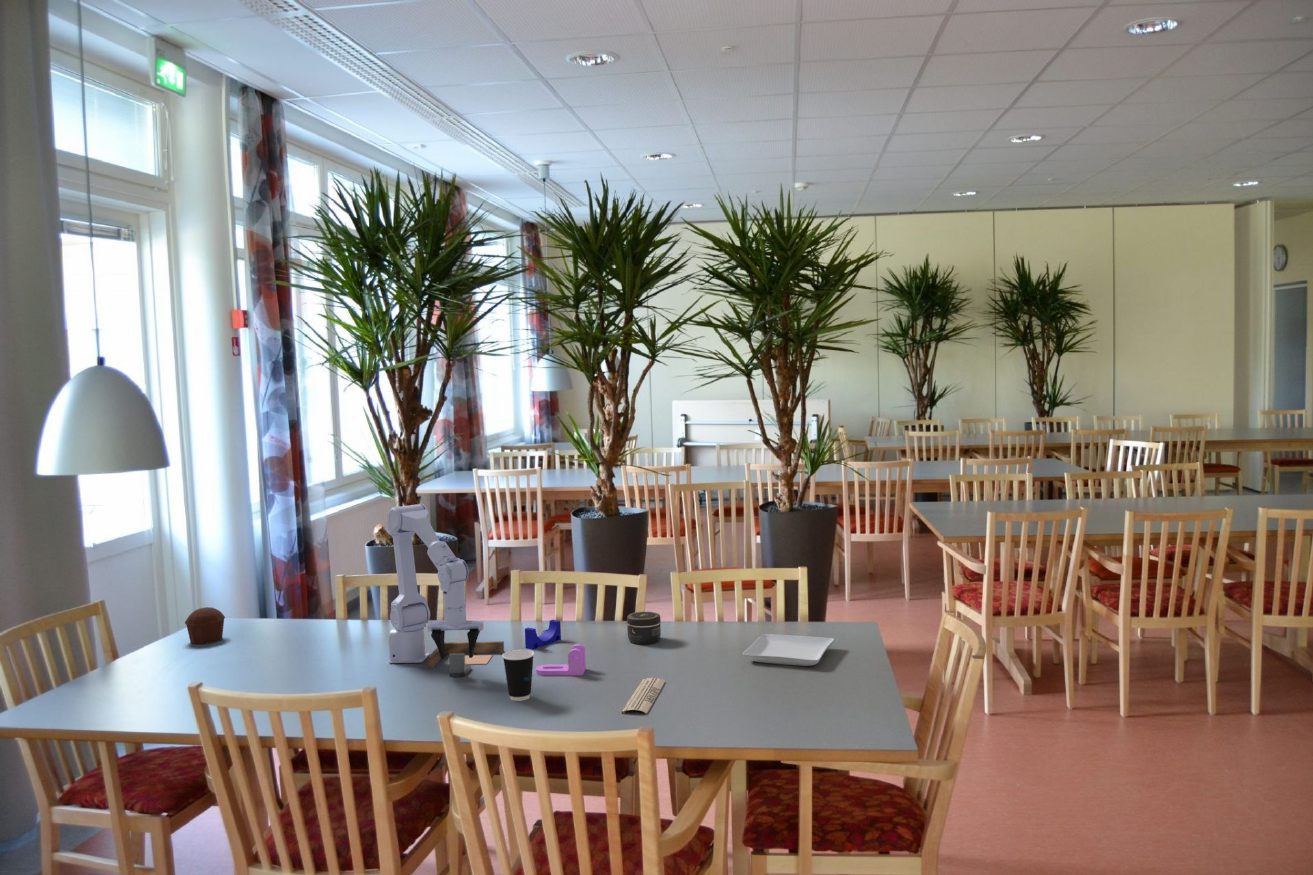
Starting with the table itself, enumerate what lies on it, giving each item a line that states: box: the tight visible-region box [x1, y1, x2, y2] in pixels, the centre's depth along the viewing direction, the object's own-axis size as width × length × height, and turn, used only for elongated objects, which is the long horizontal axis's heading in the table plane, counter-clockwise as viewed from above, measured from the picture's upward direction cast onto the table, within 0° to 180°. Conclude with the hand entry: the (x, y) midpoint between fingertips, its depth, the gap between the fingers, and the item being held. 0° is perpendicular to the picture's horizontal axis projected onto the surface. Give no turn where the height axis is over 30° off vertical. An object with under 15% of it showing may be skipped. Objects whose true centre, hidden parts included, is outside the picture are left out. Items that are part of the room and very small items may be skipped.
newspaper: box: [621, 677, 666, 715], centre depth 238 cm, size 24×7×2 cm, turn 169°
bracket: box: [535, 643, 587, 677], centre depth 260 cm, size 13×6×7 cm, turn 85°
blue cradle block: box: [524, 619, 562, 651], centre depth 288 cm, size 12×4×6 cm, turn 143°
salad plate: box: [742, 633, 835, 667], centre depth 268 cm, size 21×21×3 cm
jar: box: [626, 611, 662, 646], centre depth 288 cm, size 10×10×8 cm
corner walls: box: [427, 640, 505, 669], centre depth 274 cm, size 18×15×3 cm
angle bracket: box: [448, 653, 472, 678], centre depth 262 cm, size 7×4×6 cm, turn 178°
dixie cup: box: [501, 649, 535, 702], centre depth 240 cm, size 8×8×11 cm
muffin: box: [184, 607, 226, 645], centre depth 303 cm, size 12×11×10 cm
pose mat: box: [446, 654, 493, 666], centre depth 274 cm, size 11×8×1 cm
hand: (457, 657), depth 259 cm, fingers open, 7 cm apart
